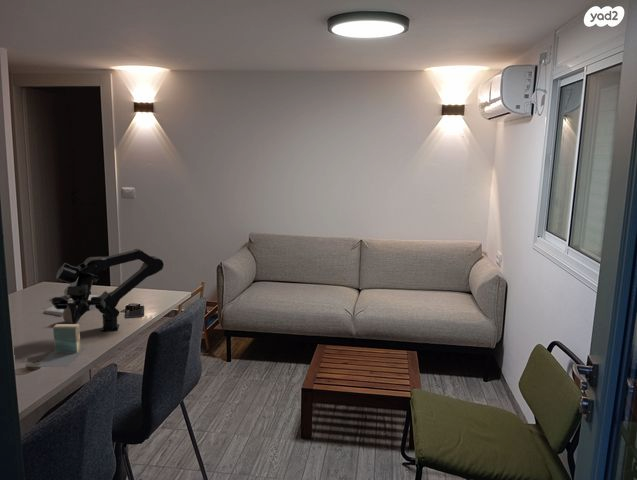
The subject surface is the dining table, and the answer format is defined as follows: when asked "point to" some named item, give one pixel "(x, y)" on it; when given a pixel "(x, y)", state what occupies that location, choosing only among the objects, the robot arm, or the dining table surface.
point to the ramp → (60, 311)
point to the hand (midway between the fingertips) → (73, 322)
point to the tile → (66, 338)
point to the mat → (59, 359)
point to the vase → (67, 316)
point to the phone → (135, 313)
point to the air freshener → (70, 285)
